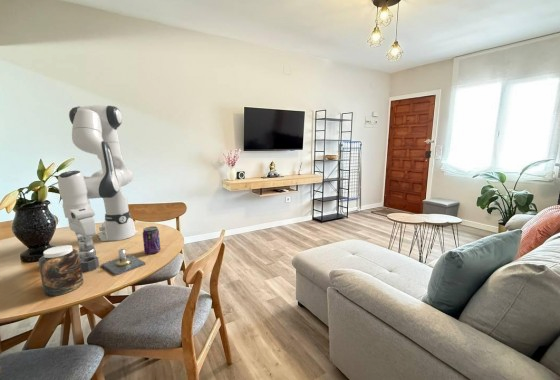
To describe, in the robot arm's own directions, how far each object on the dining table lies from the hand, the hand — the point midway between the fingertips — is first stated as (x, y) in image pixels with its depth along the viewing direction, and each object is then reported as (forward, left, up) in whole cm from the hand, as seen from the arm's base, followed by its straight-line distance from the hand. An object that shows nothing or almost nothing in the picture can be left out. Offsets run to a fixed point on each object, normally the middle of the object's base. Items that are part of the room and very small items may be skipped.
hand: (85, 242), depth 111 cm
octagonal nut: (0, 0, -12) cm, 12 cm away
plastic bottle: (-11, +3, -12) cm, 17 cm away
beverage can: (+5, +25, -12) cm, 28 cm away
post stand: (+9, +10, -12) cm, 18 cm away
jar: (+10, -11, -12) cm, 19 cm away
